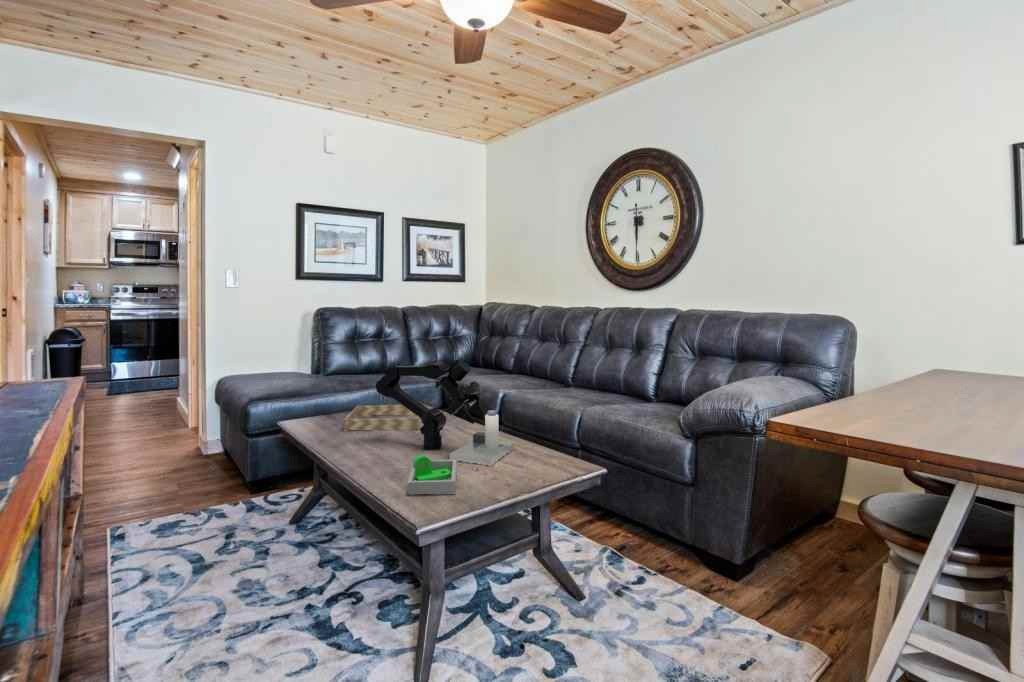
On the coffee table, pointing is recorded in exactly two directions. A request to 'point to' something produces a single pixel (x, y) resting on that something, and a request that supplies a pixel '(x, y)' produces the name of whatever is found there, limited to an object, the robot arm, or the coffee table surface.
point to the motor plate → (481, 451)
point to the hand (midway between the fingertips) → (479, 420)
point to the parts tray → (433, 485)
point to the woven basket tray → (381, 424)
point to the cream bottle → (491, 430)
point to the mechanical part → (429, 470)
